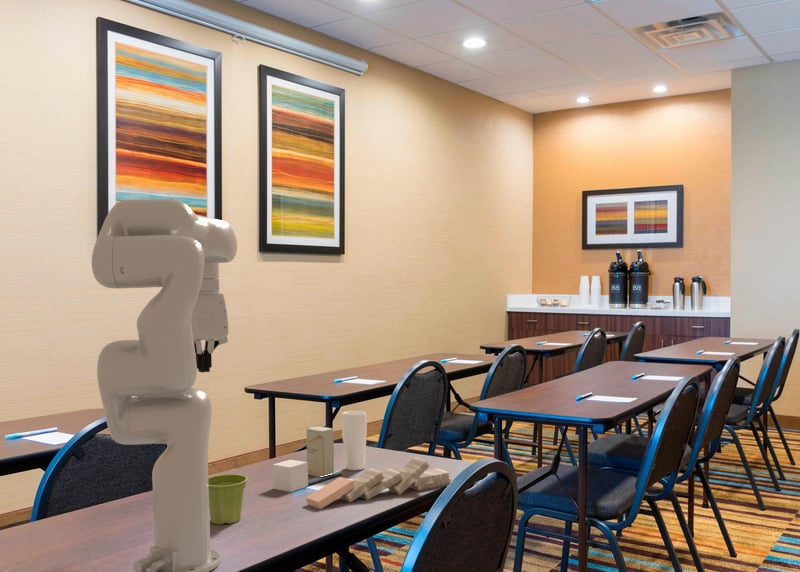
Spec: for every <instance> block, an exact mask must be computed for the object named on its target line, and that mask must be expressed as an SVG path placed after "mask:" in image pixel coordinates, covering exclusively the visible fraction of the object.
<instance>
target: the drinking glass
mask: <svg viewBox="0 0 800 572" xmlns="http://www.w3.org/2000/svg"><path fill="white" fill-rule="evenodd" d="M340 416H341V418H340V419H341V421H340V422H341V424H340V425H341V435H342V445H343V454H344V466H345V470H349V471H361V470H364V469H365V468H366V452H367V451H366V449H367V433H368V432H367V431H368V430H367V429H368V428H367V427H368V423H367V421H368V420H367V419H368V418H367V412H366V411H364V410H348V411H343V412H341V414H340Z"/></svg>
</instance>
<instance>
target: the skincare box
mask: <svg viewBox="0 0 800 572" xmlns="http://www.w3.org/2000/svg"><path fill="white" fill-rule="evenodd" d="M334 433H335V432H334V428H332V427H325V426H319V425H317V426H312V427H307V428H306V462H308V476H313V477H316V478H320V476H324V475H328V474H331V473H334V471H335V469H334V468H335V465H334V464H335V462H334V457H335V454H334V453H335V452H334V451H335V450H334V449H335V448H334V446H335V445H334V444H335V443H334V441H335V440H334V438H335V435H334ZM334 474H335V473H334Z"/></svg>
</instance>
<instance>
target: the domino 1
mask: <svg viewBox="0 0 800 572" xmlns="http://www.w3.org/2000/svg"><path fill="white" fill-rule="evenodd" d="M353 480H354V479H353ZM353 480H351V479H348V478H345V477H341V476H339V477H338V478H336V479H334V480H333V481H331V482H329V483H327V484H326V485H324V486H322V487H321V488H319V489H317V490H316V491H315V492H313V493H311V494H310V495H307V496H306V497H305V500H306V503H307V505H308V506H310V507H314V508H316V509H319V510H322V509H324V508H325V507H327V506H328V505H330V504H331V503H333V502H334V501H336V500H338V499H340V498H339V497H341V496H343V495H344V494H346V493H347V492H349V491H351V490H352V489H354V488H355V486H354V483H353Z"/></svg>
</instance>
